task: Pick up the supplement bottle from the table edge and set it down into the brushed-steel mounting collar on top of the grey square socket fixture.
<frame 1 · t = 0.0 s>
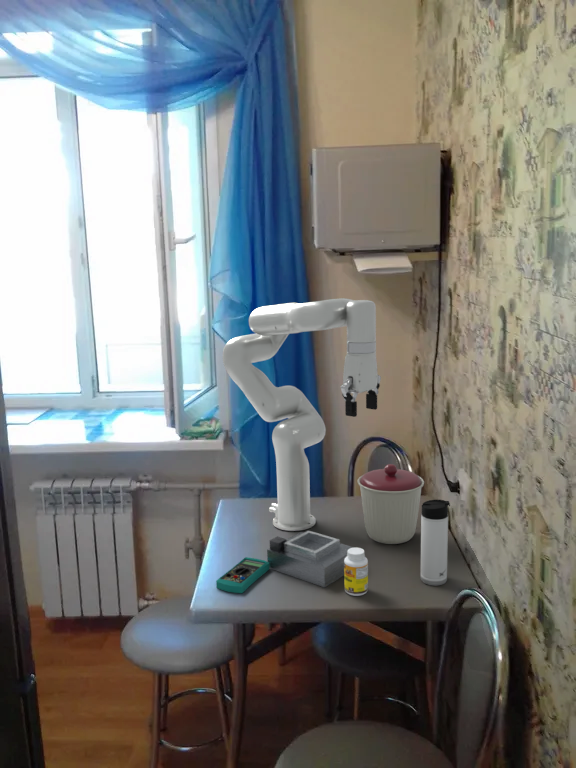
hand: (361, 412, 187), 37 cm above the table, tool pointing down, fingers open, 9 cm apart
supplement bottle: (356, 592, 167), on the table
travel mug: (434, 580, 172), on the table
digital multimeter: (243, 580, 175), on the table
grey square socket fixture: (312, 567, 180), on the table
canister: (390, 537, 198), on the table
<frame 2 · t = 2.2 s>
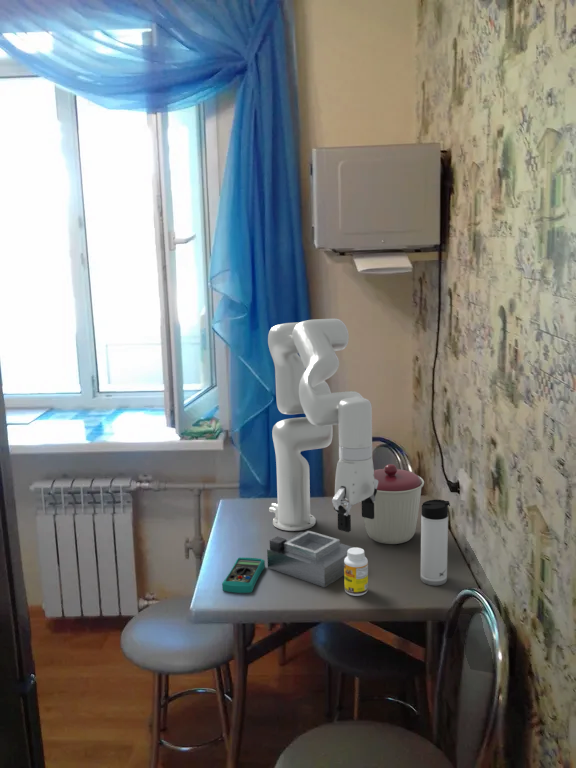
hand: (356, 524, 164), 17 cm above the table, tool pointing down, fingers open, 9 cm apart
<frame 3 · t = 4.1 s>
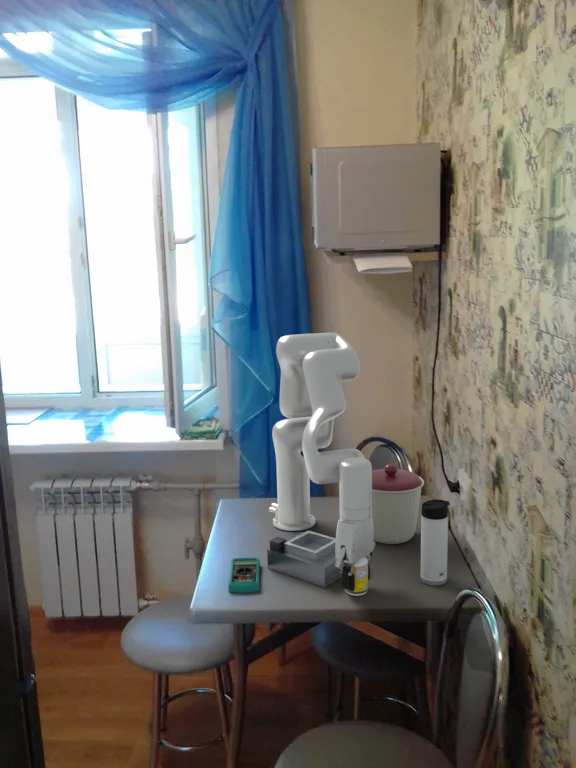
hand: (356, 583, 167), 2 cm above the table, tool pointing down, fingers closed on supplement bottle, 5 cm apart
supplement bottle: (356, 592, 167), on the table, touching gripper
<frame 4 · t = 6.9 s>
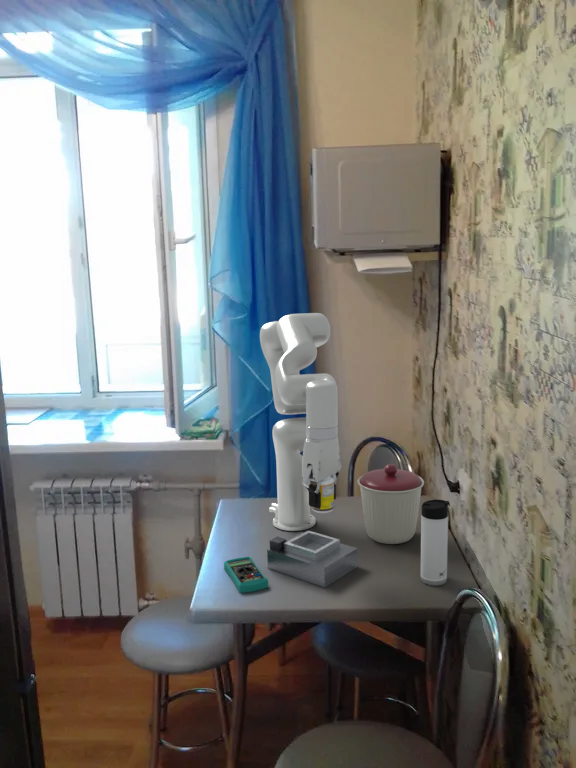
hand: (322, 502, 174), 19 cm above the table, tool pointing down, fingers closed on supplement bottle, 5 cm apart
supplement bottle: (322, 510, 174), point 16 cm above the table, touching gripper
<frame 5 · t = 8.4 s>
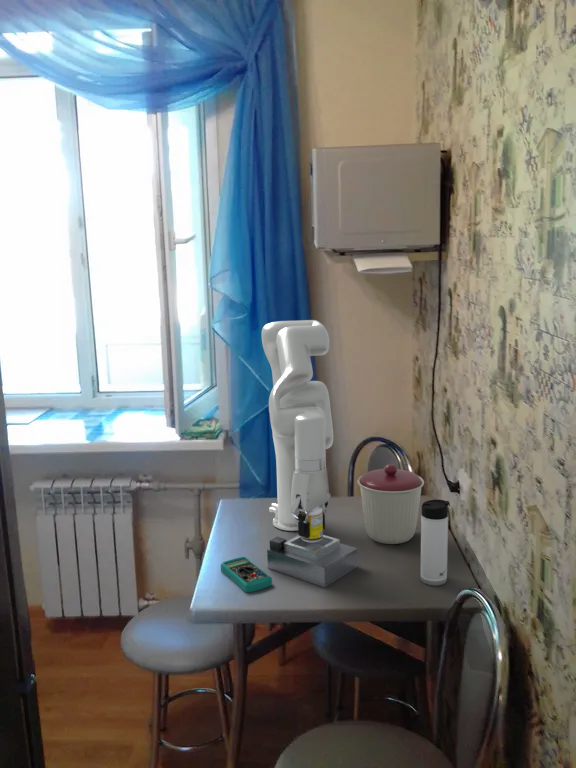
hand: (311, 531, 178), 10 cm above the table, tool pointing down, fingers closed on supplement bottle, 5 cm apart
supplement bottle: (312, 539, 179), point 7 cm above the table, touching gripper
when the fingers open (8 cm above the table, at t = 9.5 s): supplement bottle drops 1 cm, resting on grey square socket fixture.
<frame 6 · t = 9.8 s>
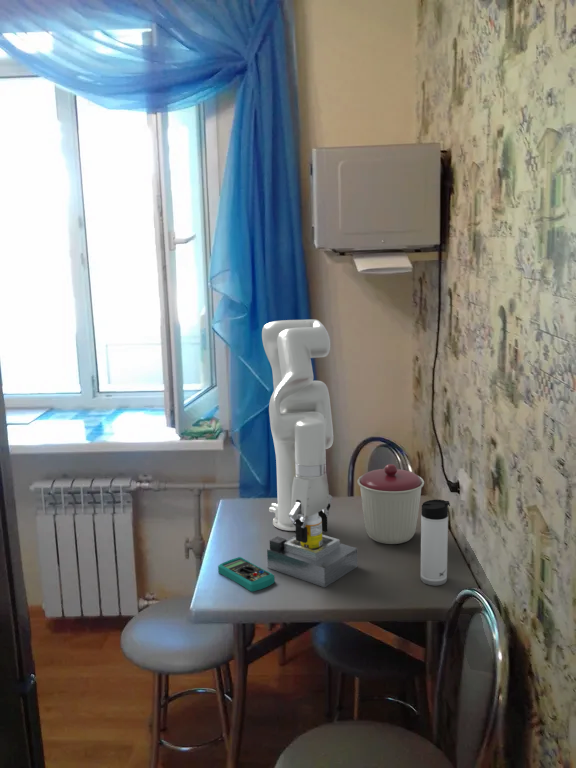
hand: (311, 535, 179), 9 cm above the table, tool pointing down, fingers open, 7 cm apart
supplement bottle: (311, 549, 179), point 5 cm above the table, touching grey square socket fixture
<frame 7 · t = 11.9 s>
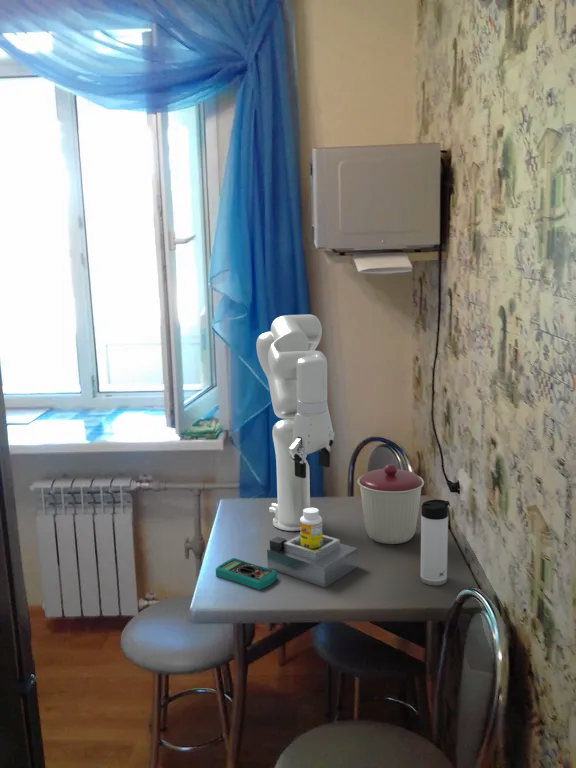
hand: (312, 471, 180), 24 cm above the table, tool pointing down, fingers open, 9 cm apart
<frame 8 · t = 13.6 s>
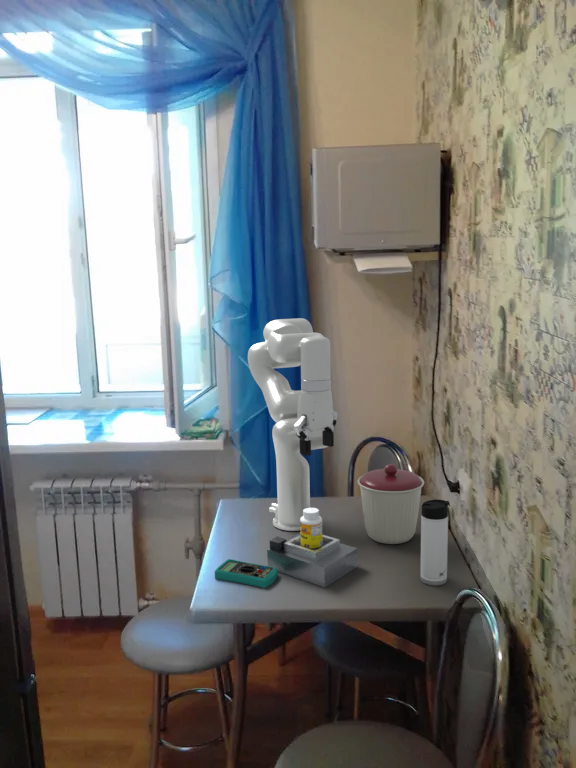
hand: (317, 450, 183), 28 cm above the table, tool pointing down, fingers open, 9 cm apart
at the end: supplement bottle 0.2 cm from the grey square socket fixture (horizontally); supplement bottle point 4.8 cm above the table; supplement bottle tilted 0° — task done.
